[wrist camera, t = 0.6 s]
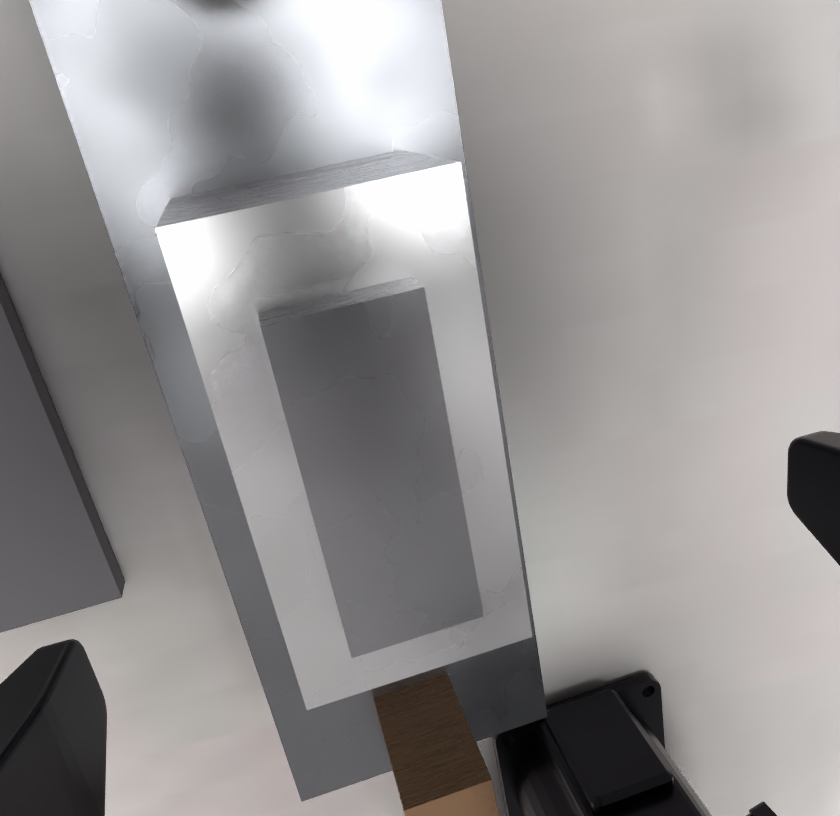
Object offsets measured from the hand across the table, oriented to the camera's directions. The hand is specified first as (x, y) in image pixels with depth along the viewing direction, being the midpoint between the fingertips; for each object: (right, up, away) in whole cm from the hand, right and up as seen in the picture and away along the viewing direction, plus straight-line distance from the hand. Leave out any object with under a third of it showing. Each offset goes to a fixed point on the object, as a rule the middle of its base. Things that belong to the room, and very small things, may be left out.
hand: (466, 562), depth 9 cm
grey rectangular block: (-2, +2, +7) cm, 8 cm away
